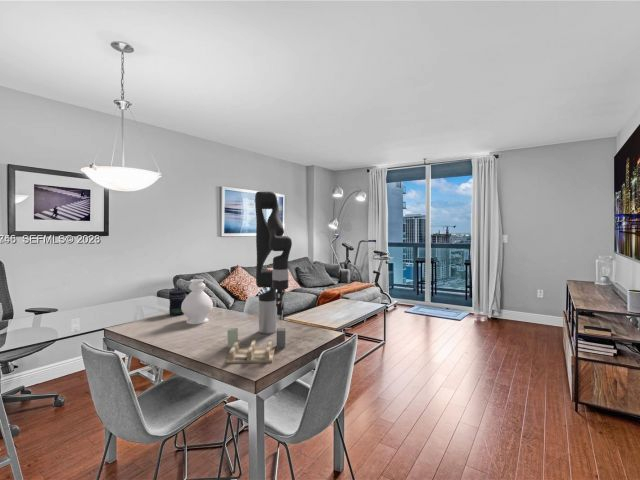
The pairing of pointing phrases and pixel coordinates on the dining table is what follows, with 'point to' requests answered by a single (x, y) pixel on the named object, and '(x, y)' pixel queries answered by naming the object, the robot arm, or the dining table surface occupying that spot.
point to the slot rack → (251, 353)
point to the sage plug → (232, 336)
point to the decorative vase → (197, 303)
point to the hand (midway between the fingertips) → (280, 312)
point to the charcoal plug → (281, 337)
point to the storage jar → (176, 302)
